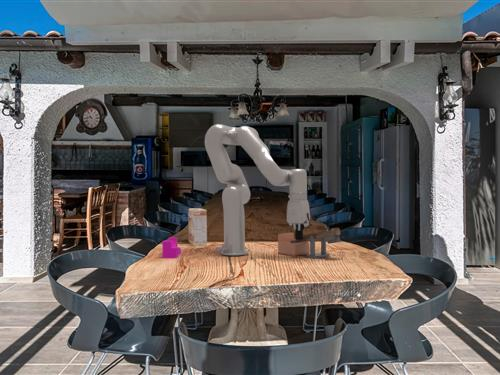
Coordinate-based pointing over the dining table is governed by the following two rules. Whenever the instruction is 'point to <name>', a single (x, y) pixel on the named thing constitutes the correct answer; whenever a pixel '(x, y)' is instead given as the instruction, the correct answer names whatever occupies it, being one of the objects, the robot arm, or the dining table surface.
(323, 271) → the dining table surface
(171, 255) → the toy block
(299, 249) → the cup
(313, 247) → the stand
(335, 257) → the dining table surface
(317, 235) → the lever
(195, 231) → the coffeecake box
